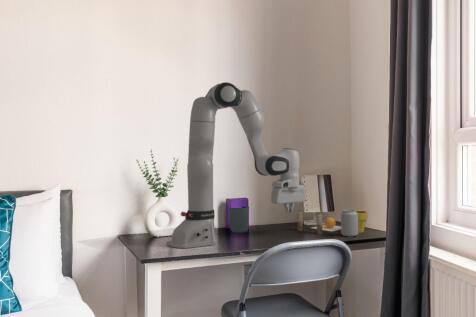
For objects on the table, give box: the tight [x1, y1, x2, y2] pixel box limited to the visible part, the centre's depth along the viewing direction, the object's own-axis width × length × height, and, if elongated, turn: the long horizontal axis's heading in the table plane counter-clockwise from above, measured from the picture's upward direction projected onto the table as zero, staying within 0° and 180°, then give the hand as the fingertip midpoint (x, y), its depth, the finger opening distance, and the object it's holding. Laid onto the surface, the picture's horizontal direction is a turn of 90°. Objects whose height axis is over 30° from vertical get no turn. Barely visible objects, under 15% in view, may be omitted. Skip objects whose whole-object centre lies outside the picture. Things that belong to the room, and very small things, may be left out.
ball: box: [323, 217, 336, 228], centre depth 237 cm, size 6×6×6 cm
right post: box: [316, 213, 323, 235], centre depth 223 cm, size 3×3×9 cm
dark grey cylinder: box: [228, 205, 250, 233], centre depth 234 cm, size 10×10×12 cm
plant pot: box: [355, 209, 369, 234], centre depth 226 cm, size 10×10×10 cm
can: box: [340, 208, 359, 238], centre depth 216 cm, size 8×8×12 cm
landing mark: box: [310, 224, 341, 232], centre depth 237 cm, size 14×14×1 cm
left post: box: [296, 211, 304, 232], centre depth 232 cm, size 3×3×9 cm
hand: (288, 212), depth 219 cm, fingers closed
